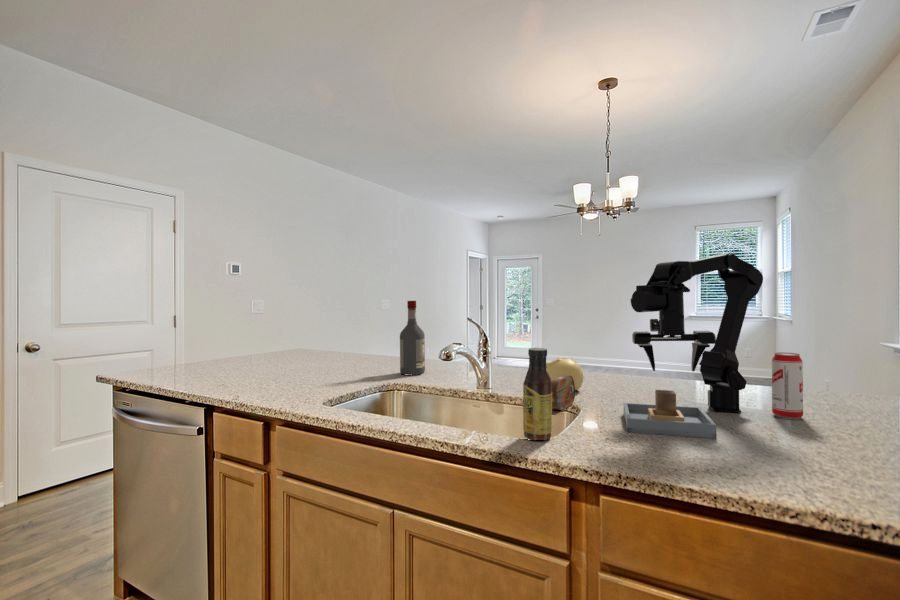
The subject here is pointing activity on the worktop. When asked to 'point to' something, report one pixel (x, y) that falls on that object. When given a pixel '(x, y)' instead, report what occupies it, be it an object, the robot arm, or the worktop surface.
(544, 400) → the sauce bottle
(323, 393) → the worktop surface
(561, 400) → the tin
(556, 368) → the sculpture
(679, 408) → the box
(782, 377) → the beer can
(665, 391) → the brown rectangular block
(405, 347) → the liquor
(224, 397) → the worktop surface
